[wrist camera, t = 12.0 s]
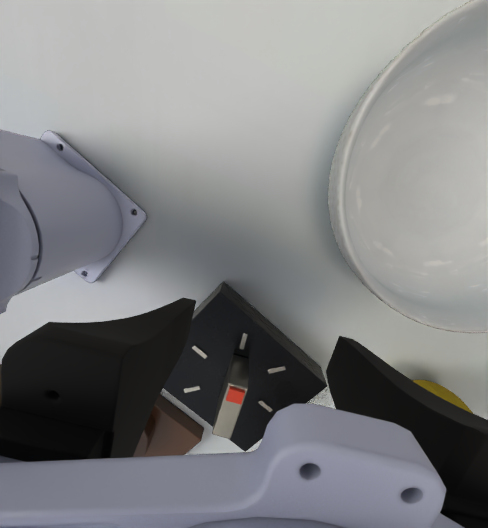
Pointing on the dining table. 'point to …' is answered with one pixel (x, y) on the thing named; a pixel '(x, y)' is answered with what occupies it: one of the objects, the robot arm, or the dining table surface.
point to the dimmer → (260, 365)
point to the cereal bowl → (421, 177)
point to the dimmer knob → (231, 396)
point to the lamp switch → (168, 432)
